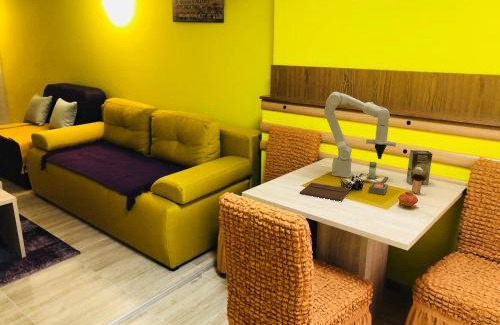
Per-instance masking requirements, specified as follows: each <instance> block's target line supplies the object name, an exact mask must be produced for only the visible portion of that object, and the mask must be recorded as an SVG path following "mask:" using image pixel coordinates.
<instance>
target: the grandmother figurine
mask: <svg viewBox="0 0 500 325" xmlns="http://www.w3.org/2000/svg"><path fill="white" fill-rule="evenodd" d="M415 170H416V174H414V175H412V176H411V178H410V180H409V181H412V179H414V181H413V184H411V185H412V186H411V190H410V191H409V192H410V193H413V194H416V195H420V194H421V189H422V185H421V180H423V181H424V183H425V184H426V183H427V182H426V179H425V177H424V176H422V175H420V174H421V173H422V172H423V170H422V168H421V167H417V168H416V169H415Z"/></svg>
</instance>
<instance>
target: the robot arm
mask: <svg viewBox="0 0 500 325" xmlns="http://www.w3.org/2000/svg"><path fill="white" fill-rule="evenodd" d="M340 104H341V105H345V104H348V105H351V106H353V107H356V108H358V109H361V110H362V112H363V113H364V114H366V115H369V116H371V117H372V118H377V121H376V127H375V128H376V129H375V139H369V138H368V139H366V140H365V141H366V142H365V144H366V145H374V149H375V152H376V154H377V159H378V160H382V157H383V155H384V151H385V150H386V148H387V147H394V148H396V147H397V141H389V140H388V138H389V137H388V134H389V123H390V121H389V120H390V118H391V115H390V114H391V113H390V111H389V110H388V108H386V107H383V106H379V105H376V104H375V103H374V102H373V101H371V102H369V101H368V102H363V101H361V100H360V99H357V98H354V97H352V96H351V95H348V94H347V93H343V92H340V91H332V92H331V93H330V95H329V96H328V97H327V99H326V101H325V107H324V111H323V112H324V116H325V119H326V121H327V123H328V125H329V128H330V131H331V133H332V136H333V139H334V141H335V143H336V147H337V152H338V153H337V157H334V158H333V160H332V166H331V174H330V175H331V176H334V177H335V176H336V177H342V178H346V179H347V178H350V177H351V176H352V175H353V174H354V173H353V172H352V157H351V156H352V153H353V152H352V151H353V150H352V147H351V146H350V145H349V143H348V141H347V140H346V138H345V136H344V134H343V130H342V128H341V126H340V124H339V121H338V118H337V116H336V113H335V111H336V108H337V107H338V106H339V105H340Z"/></svg>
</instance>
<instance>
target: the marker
mask: <svg viewBox="0 0 500 325" xmlns="http://www.w3.org/2000/svg"><path fill="white" fill-rule="evenodd" d="M368 166H369V169H368V174H369V177H368V178H370V179H375V175H376V170H377V162H375V161H370V162H369V164H368Z"/></svg>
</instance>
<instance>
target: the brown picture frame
mask: <svg viewBox="0 0 500 325" xmlns="http://www.w3.org/2000/svg"><path fill="white" fill-rule="evenodd" d="M357 177H360V178H362V179H364V182H363V183H365V184H370V185H371V184H372V183H380V184H385V183H386V182H387V181H388V180H389V177H388V176H387V177H386V176H383V175H382V176H381V175H376V174H375V179H370V178H368V177H369V173H367V174H366V173H362V172H361V173H360V174H359V175H358V176H357Z"/></svg>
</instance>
